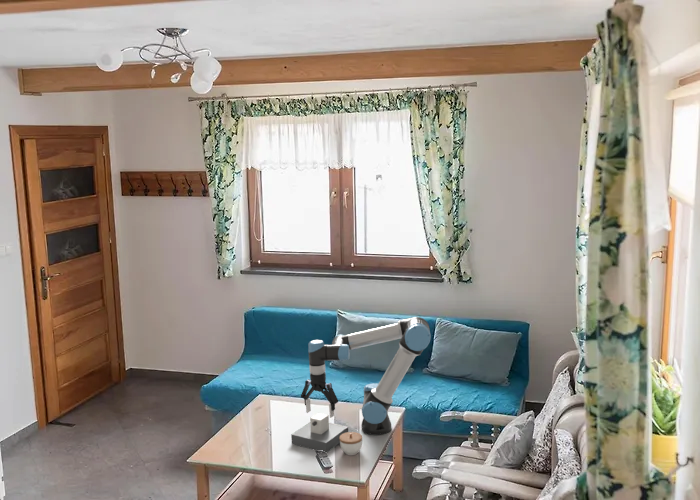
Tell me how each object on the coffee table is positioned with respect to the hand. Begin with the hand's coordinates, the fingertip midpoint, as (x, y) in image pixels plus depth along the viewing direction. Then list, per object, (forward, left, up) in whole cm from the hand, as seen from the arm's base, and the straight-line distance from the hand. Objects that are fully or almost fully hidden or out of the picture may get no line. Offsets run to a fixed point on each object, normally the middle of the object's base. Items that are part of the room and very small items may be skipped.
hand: (320, 414), depth 337 cm
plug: (0, 0, -12) cm, 12 cm away
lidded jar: (-20, +4, -14) cm, 24 cm away
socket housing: (0, 0, -13) cm, 13 cm away
